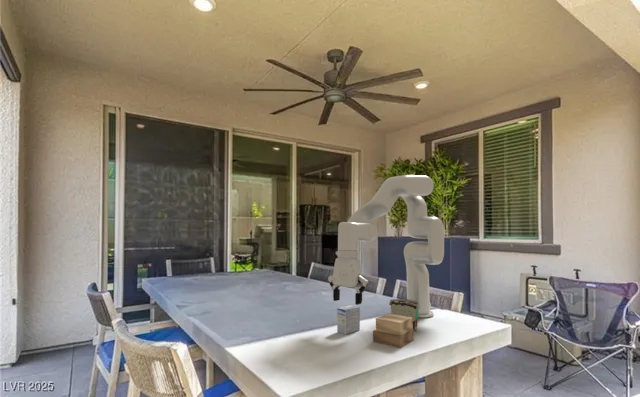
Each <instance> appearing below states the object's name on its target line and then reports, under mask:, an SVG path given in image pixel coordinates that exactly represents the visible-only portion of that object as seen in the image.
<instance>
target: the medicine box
mask: <svg viewBox="0 0 640 397" xmlns="http://www.w3.org/2000/svg"><path fill="white" fill-rule="evenodd" d="M360 308H361V307H360V306H358V305H354V304H353V305H351V304H349V305H345V306H341V307H338V308H337V309H336V311H337V312H336V317H337V318H336V319H337V320H336V328H337V329H336V331H337V333H339V334H343V335H349V334H352V333H354V332H357V331H360V330H361V329H360V328H361V325H360V324H361V320H360V319H361V316H360V315H361V313H360V312H361V309H360Z"/></svg>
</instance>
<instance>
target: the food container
mask: <svg viewBox="0 0 640 397" xmlns="http://www.w3.org/2000/svg"><path fill="white" fill-rule="evenodd" d="M388 306H390V312H391V313H390V314H395V315H401V316H406V317H412V318H413V330H414V332H417V330H418V320H419V317H418V310H420V305H419V303H418V302H417V301H414V300H408V299H407V298H406V299H405V298H394V299H390V301H389V304H388Z"/></svg>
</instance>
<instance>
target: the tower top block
mask: <svg viewBox="0 0 640 397" xmlns="http://www.w3.org/2000/svg"><path fill="white" fill-rule="evenodd" d="M375 330H376V331H380V332H385V333H390V334H394V335H399V336H401V335H403V334H405V333H407V332H409V331H411V330H413V318H412V317H406V316H401V315H395V314H391V313H386V314H384V315H381V316H378V317H375Z"/></svg>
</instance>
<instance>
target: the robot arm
mask: <svg viewBox="0 0 640 397" xmlns="http://www.w3.org/2000/svg"><path fill="white" fill-rule="evenodd" d="M434 185H435V184H434V182H433V180H432V179H431V177H430V176H427V175H415V174H404V175H403V174H402V175H397V176H391V177H388V178H386V179H385V181H383V183H381V185H380V187H379V189H378V190H377V191H376V192H375V194H374V196H373V197H372V198H371V200H370V201H368V202H367V203H365V204H364V205H362V206H361V207H360V208H358V209H357V210H355V212H353V214H352V215H350V217H349V219H348V221H341V222H339V224H338V227H337V232H338V233H337V251H335V255H336V256H337V258H335V261H334V265H333V266H334V267H333V273H332V274H331V275H329V276H328V277H327V280H328V282H329V286H330V288H331V290H332V292H333V293H332V295H333V297H332V298H333V302H337V301H340V299H341V297H340V296H341V293H340V292H341V290H340V289H339V288H340V287H345V288H351V289H354V290H355V291H356V293H355V295H354V296H355V297H354V298H355V301H354V302H355V303H354V304H355V306H358V305H361V304H362V302H363V293H364V291H366V289H367V287H368V285H369V282H370V281H369V280H367V279H366V278H365V277H363V276H362V269H361V268H362V267H361V262H360V261H361V260H360V259H359V242H364V243H365V242H366V243H369V242H373V241H374V240H376V239H377V237H378V235H379V229H378V228H377V226H376V224H374V223H372V222H371V221H373V220H375V219H378V218H381V217H382V216H384V215H387V214H388V213H389V212H390V211H391V209H392V208H393V206H394V204H395V203H396V201H397V200H398V199H399V197H401V198H402V199H403V201H404V202H405V205H406V209H407V210H406V211H407V234H408V236H409V237H411V238H414V239H419V240H420V239H424V240H426V239H427V241H419V240H418V241H411V242H407V243H406V245H405V246H404V248H403V256H404V257H403V258H404V261H405V267H406V268H405V269H406V270H405V271H406V299H408V300H414V301H417V302H418V303H419V305H420V310H418V318H424V319H425V318H431V317H434V315H435V314H434V311H432V310H430V309H431V308H430V307H431V306H432V304H431V302H430V273H429V269H428V268H427V266H426V265H430V266H432V265H433V266H435V265H440V264H441V263H442V262H443V260H444V257H445V228H444V223H443V221H442V220H441V219H440V218H439V217H436V216H428V206H427V202H426V201H425V199H424V198H423V197H425V196H426V197H427V196H429V195H431V194H432V193H433V191H434V187H435V186H434Z"/></svg>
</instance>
